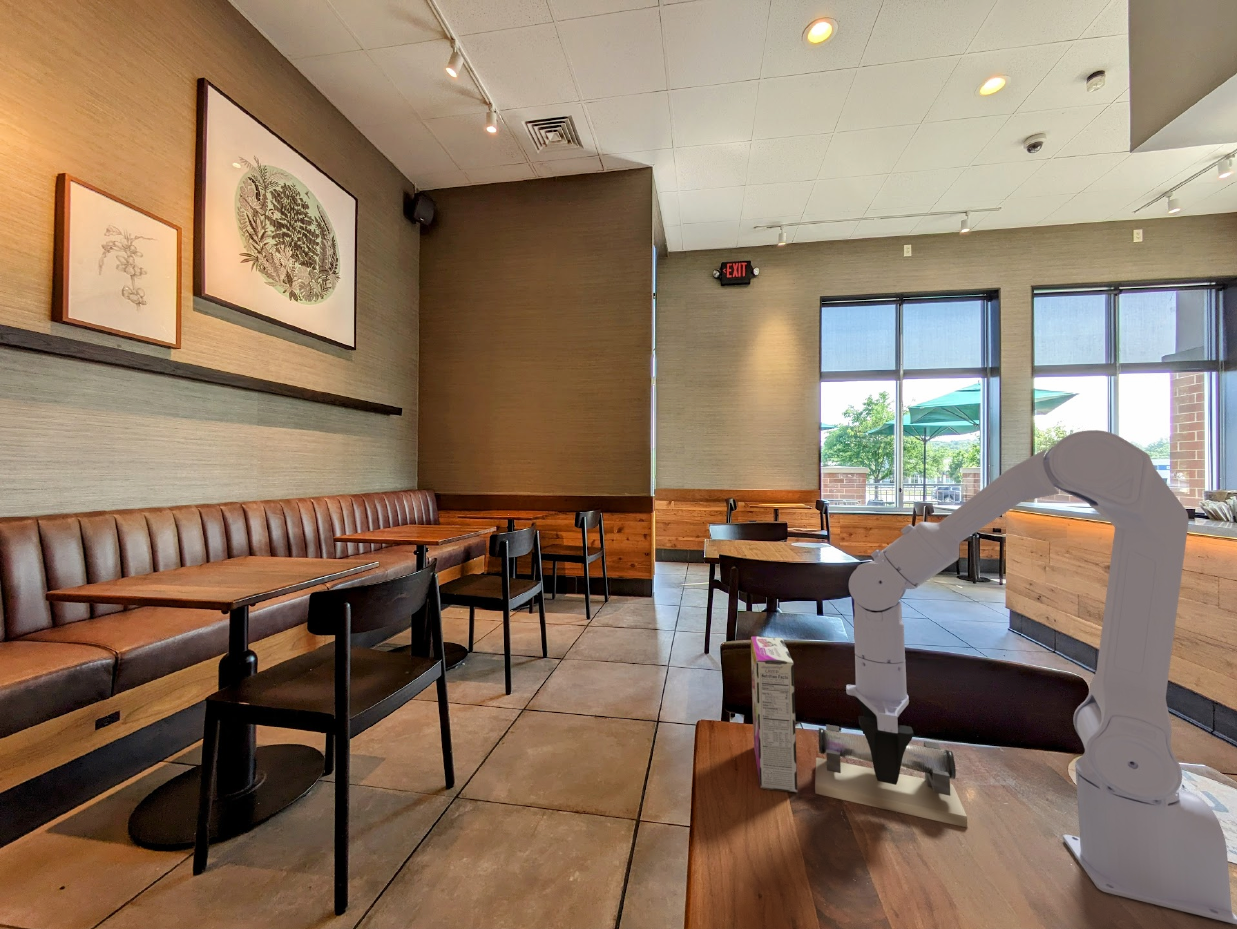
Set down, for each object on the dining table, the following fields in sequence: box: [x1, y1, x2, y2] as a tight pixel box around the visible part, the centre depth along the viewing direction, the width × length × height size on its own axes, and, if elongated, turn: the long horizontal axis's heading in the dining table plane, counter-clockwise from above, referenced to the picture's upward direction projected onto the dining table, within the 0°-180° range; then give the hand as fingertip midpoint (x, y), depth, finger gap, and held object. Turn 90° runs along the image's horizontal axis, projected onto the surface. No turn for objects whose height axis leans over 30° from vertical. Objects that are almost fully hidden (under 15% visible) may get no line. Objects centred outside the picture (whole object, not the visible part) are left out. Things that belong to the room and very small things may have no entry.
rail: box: [818, 727, 957, 780], centre depth 62 cm, size 15×3×3 cm, turn 67°
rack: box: [814, 724, 968, 829], centre depth 61 cm, size 16×7×6 cm, turn 67°
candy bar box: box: [750, 635, 799, 793], centre depth 67 cm, size 11×5×16 cm, turn 168°
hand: (883, 766), depth 61 cm, fingers open, 6 cm apart
